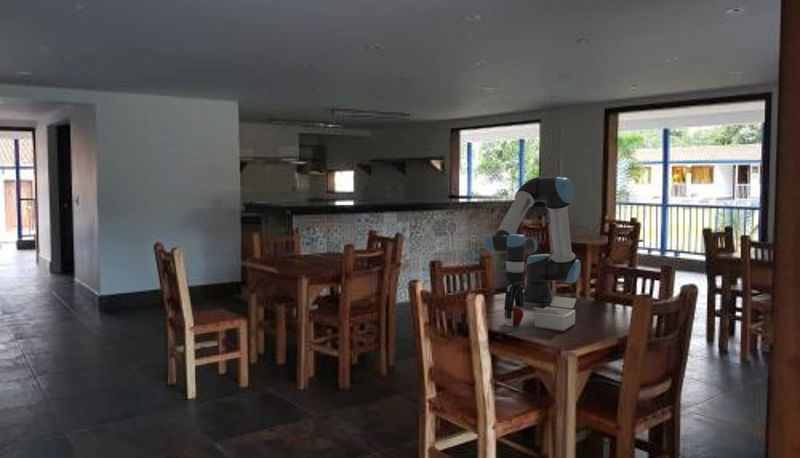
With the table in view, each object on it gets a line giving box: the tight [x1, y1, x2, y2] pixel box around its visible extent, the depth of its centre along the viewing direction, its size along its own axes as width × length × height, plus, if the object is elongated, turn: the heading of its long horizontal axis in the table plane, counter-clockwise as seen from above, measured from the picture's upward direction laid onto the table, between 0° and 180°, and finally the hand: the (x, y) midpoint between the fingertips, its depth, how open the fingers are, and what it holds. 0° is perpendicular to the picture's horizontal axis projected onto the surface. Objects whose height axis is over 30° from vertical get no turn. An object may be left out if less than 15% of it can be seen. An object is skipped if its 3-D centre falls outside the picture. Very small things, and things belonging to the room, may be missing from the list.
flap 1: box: [532, 306, 561, 316], centre depth 258 cm, size 6×10×1 cm, turn 58°
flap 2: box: [549, 295, 577, 310], centre depth 276 cm, size 6×10×1 cm
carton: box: [534, 306, 576, 332], centre depth 267 cm, size 15×13×6 cm
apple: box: [504, 306, 524, 326], centre depth 268 cm, size 8×8×8 cm
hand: (513, 323), depth 268 cm, fingers open, 8 cm apart
